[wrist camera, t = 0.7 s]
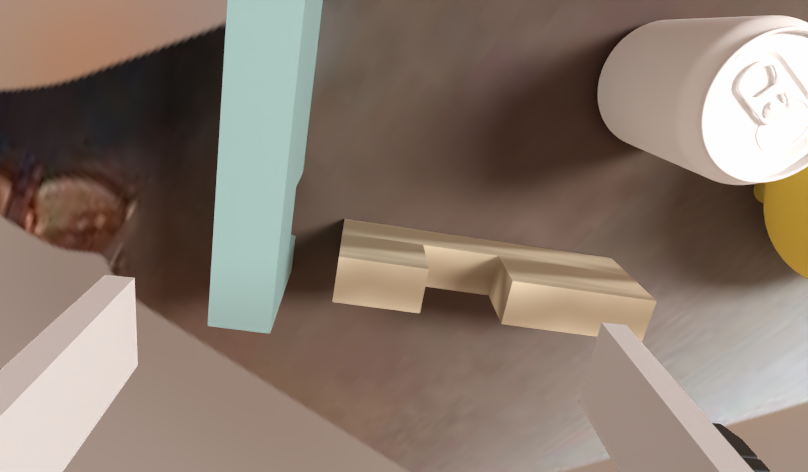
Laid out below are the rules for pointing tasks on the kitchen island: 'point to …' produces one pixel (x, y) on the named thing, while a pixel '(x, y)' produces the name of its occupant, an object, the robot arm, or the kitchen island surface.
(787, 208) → the teapot
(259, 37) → the teal board
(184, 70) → the kitchen island surface
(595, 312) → the birch rail
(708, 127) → the beverage can
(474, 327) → the kitchen island surface
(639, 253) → the kitchen island surface
